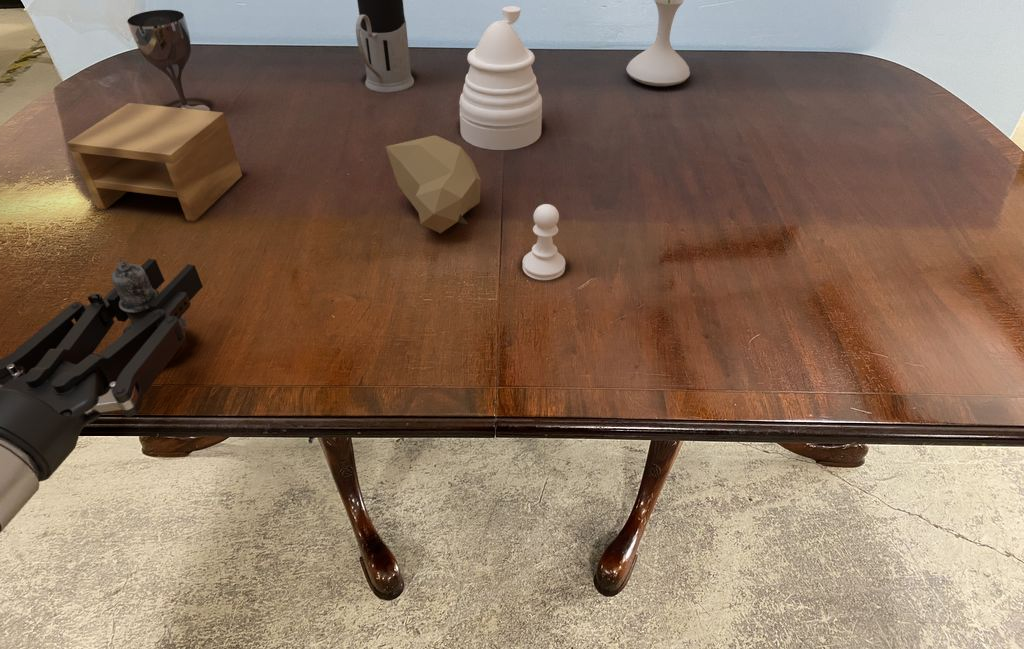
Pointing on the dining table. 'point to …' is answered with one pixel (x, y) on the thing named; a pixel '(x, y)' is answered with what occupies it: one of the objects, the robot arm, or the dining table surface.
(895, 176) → the dining table surface
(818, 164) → the dining table surface
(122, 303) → the grey chess piece
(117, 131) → the shelf
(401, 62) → the glass holder
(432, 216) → the low-poly potato
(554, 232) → the chess pawn
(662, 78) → the flower in vase
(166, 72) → the wine glass
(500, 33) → the honey pot
